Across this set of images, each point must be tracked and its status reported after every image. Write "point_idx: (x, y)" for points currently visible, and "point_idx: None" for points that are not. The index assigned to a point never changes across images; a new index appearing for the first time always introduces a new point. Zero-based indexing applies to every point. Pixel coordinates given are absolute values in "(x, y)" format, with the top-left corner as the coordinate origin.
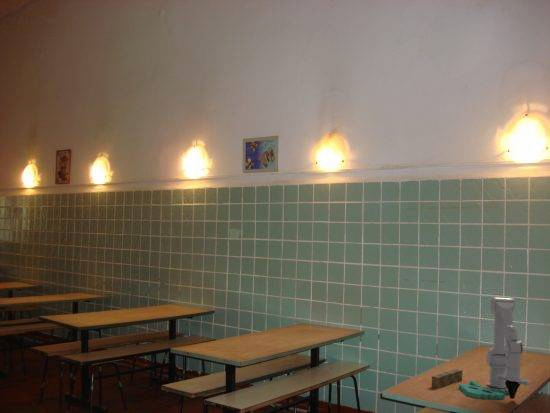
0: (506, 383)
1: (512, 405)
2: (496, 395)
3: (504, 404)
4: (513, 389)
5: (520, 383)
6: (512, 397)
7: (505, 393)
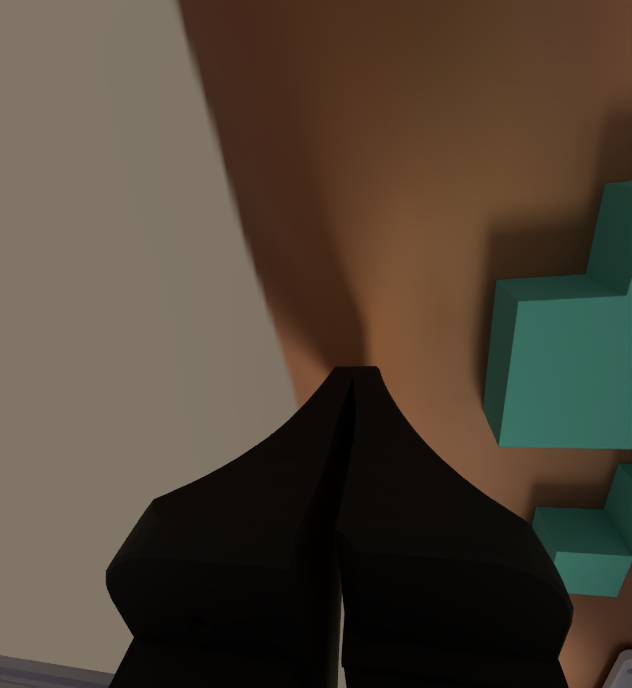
0: (470, 541)
1: (234, 162)
2: (600, 292)
3: (333, 71)
4: (270, 448)
5: (69, 682)
6: (331, 371)
7: None
